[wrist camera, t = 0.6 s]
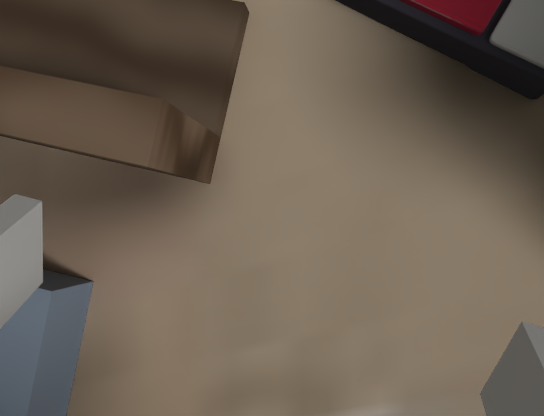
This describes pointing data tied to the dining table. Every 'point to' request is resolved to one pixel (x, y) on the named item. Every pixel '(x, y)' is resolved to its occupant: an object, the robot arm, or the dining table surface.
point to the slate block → (43, 347)
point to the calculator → (474, 34)
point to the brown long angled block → (121, 78)
